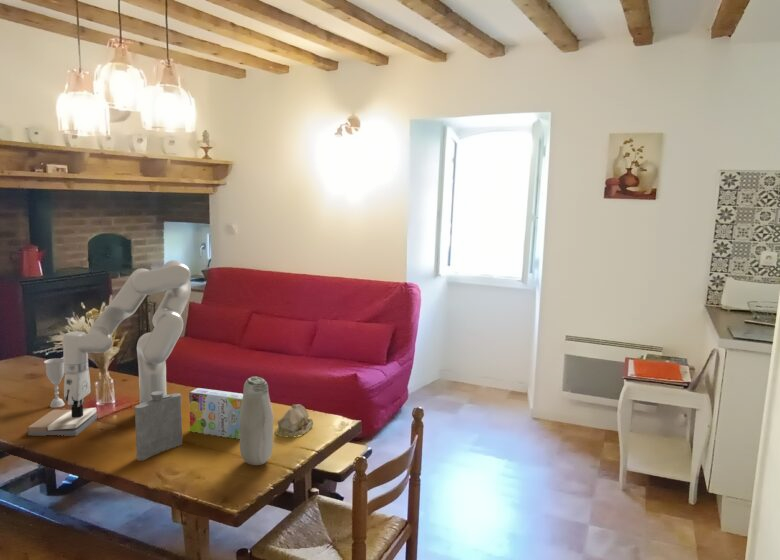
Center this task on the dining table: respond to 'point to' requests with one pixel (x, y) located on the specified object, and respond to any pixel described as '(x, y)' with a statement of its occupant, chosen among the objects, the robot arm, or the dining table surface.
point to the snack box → (215, 412)
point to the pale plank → (71, 420)
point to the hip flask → (158, 424)
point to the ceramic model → (294, 422)
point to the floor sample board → (41, 429)
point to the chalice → (55, 378)
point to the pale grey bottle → (256, 422)
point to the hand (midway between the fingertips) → (77, 416)
